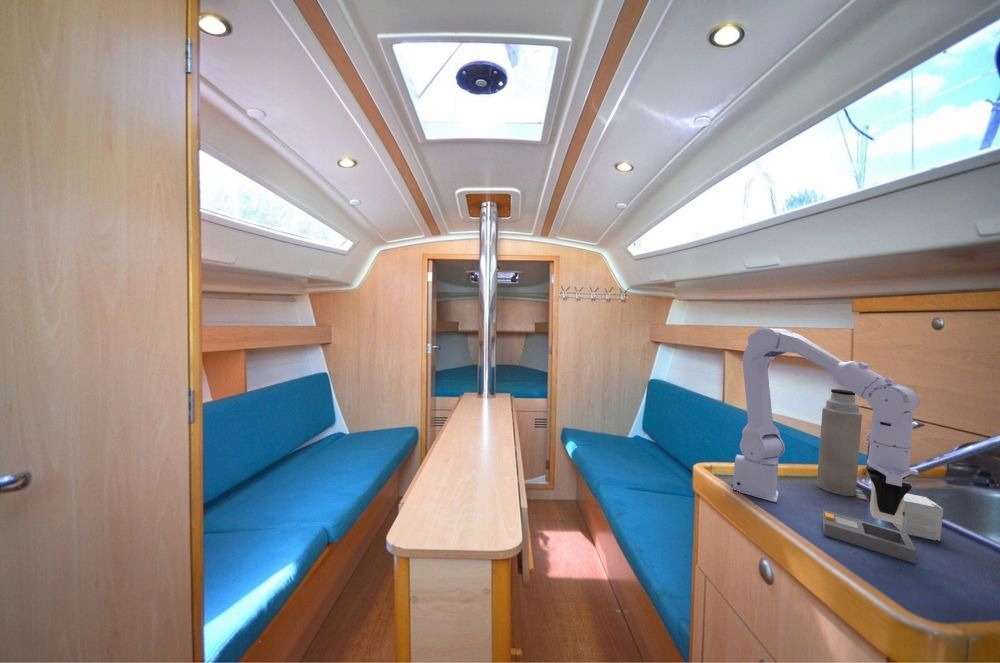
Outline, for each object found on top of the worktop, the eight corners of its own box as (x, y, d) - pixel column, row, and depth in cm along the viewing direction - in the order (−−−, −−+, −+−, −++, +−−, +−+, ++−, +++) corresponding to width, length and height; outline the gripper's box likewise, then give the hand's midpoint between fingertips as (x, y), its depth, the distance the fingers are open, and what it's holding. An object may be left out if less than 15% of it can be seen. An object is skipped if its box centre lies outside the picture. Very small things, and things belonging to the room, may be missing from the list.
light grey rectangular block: (872, 517, 74) (875, 482, 73) (869, 510, 77) (872, 476, 76) (901, 525, 71) (904, 489, 71) (897, 517, 74) (900, 482, 74)
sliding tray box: (823, 534, 77) (824, 520, 77) (822, 520, 83) (823, 507, 83) (915, 563, 68) (916, 547, 68) (906, 545, 75) (907, 530, 74)
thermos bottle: (836, 483, 104) (844, 388, 104) (864, 497, 96) (872, 393, 96) (809, 482, 104) (816, 386, 104) (834, 495, 97) (842, 392, 96)
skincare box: (887, 520, 85) (890, 489, 84) (923, 528, 82) (926, 496, 82) (902, 533, 79) (905, 500, 79) (941, 542, 76) (944, 508, 76)
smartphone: (849, 489, 102) (849, 485, 102) (928, 507, 93) (928, 502, 93) (857, 500, 95) (857, 496, 95) (942, 520, 87) (943, 516, 87)
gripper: (929, 458, 65) (923, 531, 66) (911, 440, 76) (906, 503, 77) (873, 447, 70) (868, 516, 70) (864, 432, 81) (859, 492, 81)
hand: (884, 508), depth 74 cm, fingers closed on light grey rectangular block, 4 cm apart
